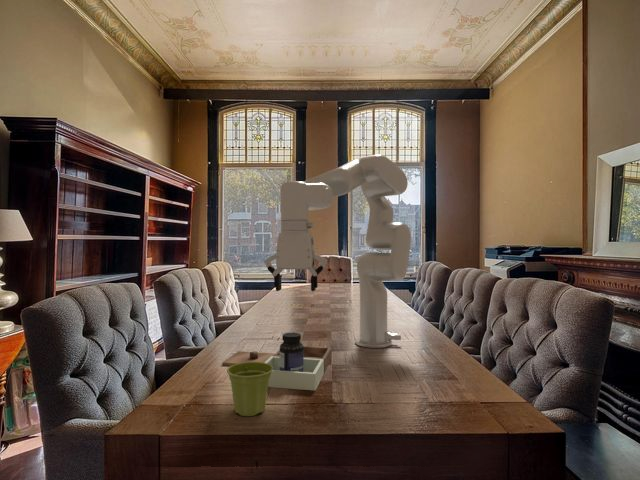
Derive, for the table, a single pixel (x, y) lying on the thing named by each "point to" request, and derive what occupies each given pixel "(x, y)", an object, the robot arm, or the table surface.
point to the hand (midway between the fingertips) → (295, 290)
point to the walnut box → (316, 354)
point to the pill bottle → (291, 353)
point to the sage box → (296, 375)
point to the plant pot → (249, 386)
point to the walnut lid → (247, 358)
